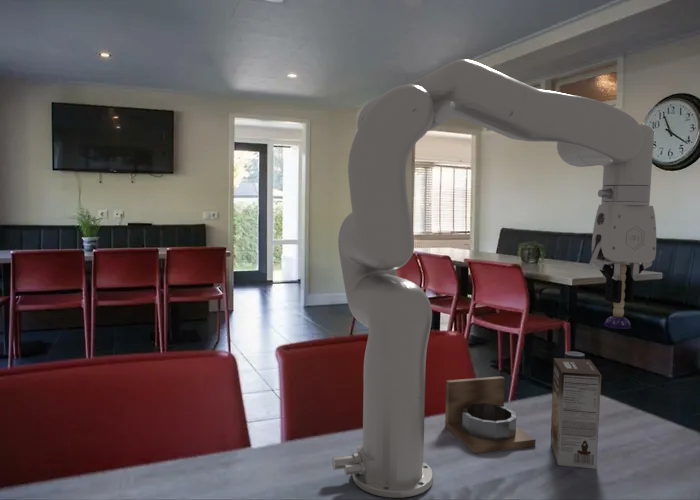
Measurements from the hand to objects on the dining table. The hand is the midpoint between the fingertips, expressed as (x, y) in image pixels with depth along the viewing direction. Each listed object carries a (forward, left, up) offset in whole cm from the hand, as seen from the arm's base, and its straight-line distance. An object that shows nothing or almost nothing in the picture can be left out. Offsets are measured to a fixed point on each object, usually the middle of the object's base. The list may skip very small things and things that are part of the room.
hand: (619, 301), depth 97 cm
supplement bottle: (+8, +20, -27) cm, 34 cm away
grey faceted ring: (-19, +9, -25) cm, 33 cm away
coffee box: (-9, -1, -27) cm, 28 cm away
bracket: (-19, +9, -26) cm, 34 cm away
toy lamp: (0, 0, -5) cm, 5 cm away
